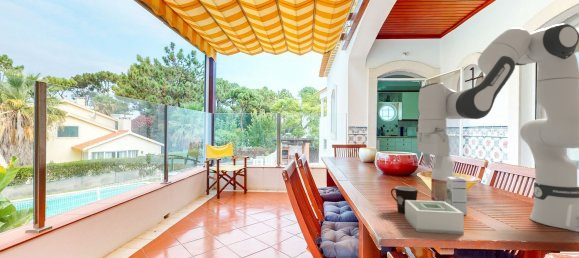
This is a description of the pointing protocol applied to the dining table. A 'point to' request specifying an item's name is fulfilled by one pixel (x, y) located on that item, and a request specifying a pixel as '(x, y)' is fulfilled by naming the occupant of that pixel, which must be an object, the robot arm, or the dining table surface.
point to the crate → (434, 218)
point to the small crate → (430, 207)
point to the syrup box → (457, 193)
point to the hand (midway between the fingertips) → (432, 166)
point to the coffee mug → (404, 196)
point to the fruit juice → (441, 178)
